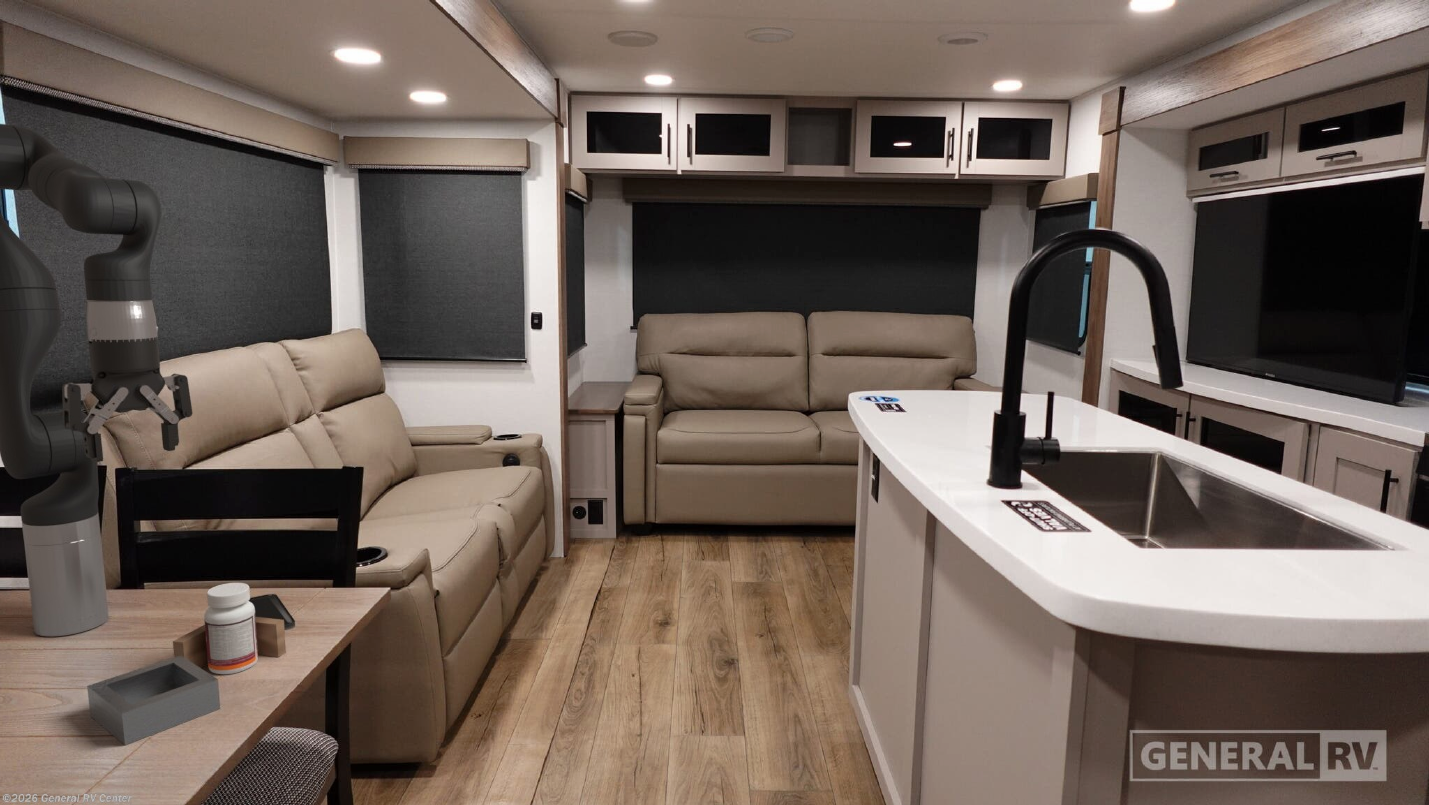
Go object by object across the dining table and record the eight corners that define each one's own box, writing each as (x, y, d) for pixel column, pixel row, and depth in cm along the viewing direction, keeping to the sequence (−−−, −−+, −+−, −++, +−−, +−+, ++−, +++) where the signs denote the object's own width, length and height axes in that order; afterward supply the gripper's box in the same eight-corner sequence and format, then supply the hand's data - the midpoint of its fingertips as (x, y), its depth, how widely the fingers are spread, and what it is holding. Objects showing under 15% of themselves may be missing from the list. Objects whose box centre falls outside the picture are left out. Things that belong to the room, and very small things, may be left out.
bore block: (90, 715, 106) (87, 686, 105) (183, 683, 114) (180, 655, 113) (124, 745, 99) (121, 713, 99) (220, 708, 108) (218, 679, 107)
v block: (287, 655, 123) (284, 622, 122) (176, 679, 115) (173, 644, 114) (279, 634, 129) (277, 603, 128) (173, 655, 122) (170, 622, 121)
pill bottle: (221, 656, 122) (215, 581, 120) (265, 655, 123) (260, 580, 121) (199, 676, 116) (193, 598, 114) (246, 675, 117) (241, 597, 115)
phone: (275, 592, 143) (296, 622, 132) (275, 599, 144) (297, 629, 132) (222, 603, 139) (239, 635, 127) (222, 609, 139) (239, 642, 127)
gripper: (170, 330, 119) (179, 443, 122) (47, 335, 108) (60, 460, 110) (194, 333, 115) (203, 451, 117) (68, 340, 103) (81, 469, 106)
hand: (134, 455), depth 114 cm, fingers open, 8 cm apart
